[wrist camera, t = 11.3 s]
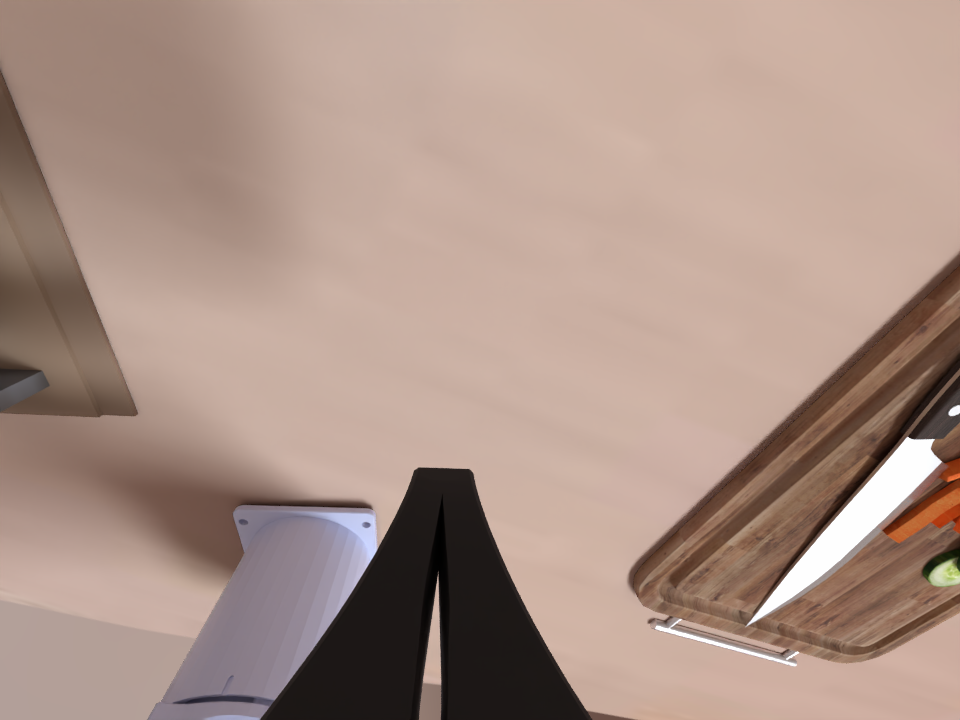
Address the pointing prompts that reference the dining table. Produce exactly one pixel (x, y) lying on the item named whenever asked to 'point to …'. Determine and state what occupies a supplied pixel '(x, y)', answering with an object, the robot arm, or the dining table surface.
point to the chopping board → (836, 513)
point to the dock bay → (46, 300)
